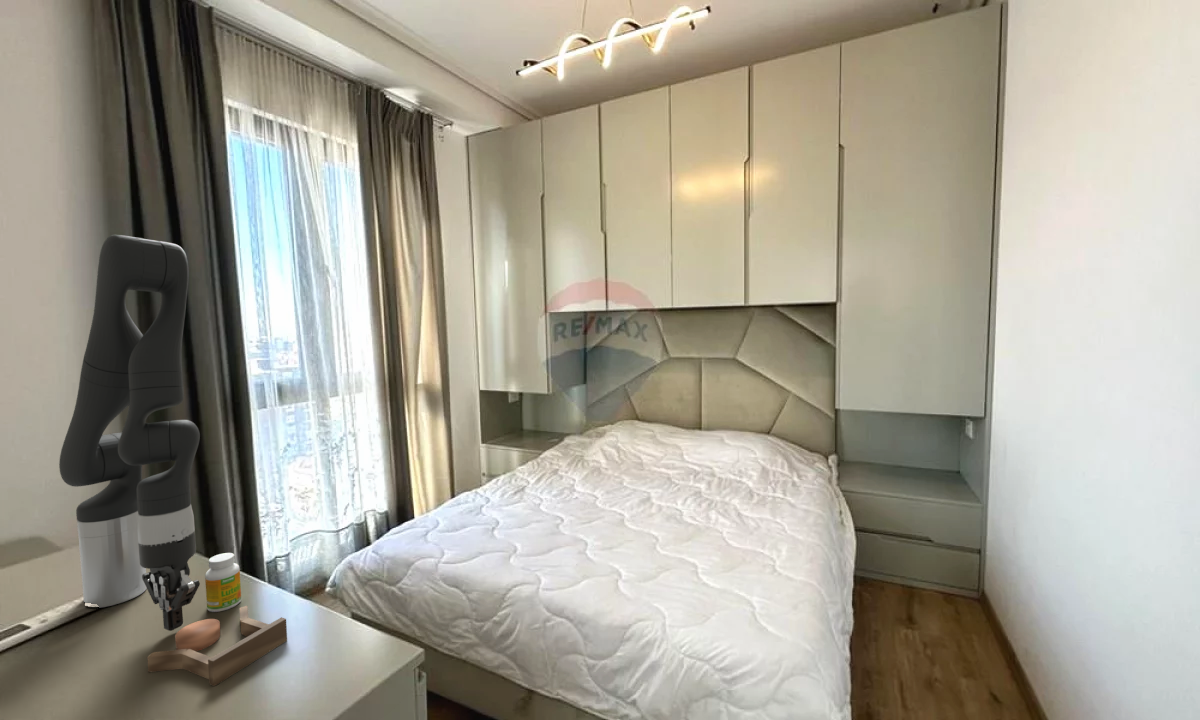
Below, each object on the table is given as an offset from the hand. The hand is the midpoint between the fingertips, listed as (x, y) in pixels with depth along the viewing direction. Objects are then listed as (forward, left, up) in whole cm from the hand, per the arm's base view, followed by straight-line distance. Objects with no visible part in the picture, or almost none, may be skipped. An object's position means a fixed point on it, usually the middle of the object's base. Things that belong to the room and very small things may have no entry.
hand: (173, 627), depth 88 cm
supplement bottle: (-1, +9, -1) cm, 9 cm away
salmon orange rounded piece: (+7, 0, -1) cm, 7 cm away
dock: (+14, 0, -1) cm, 14 cm away
